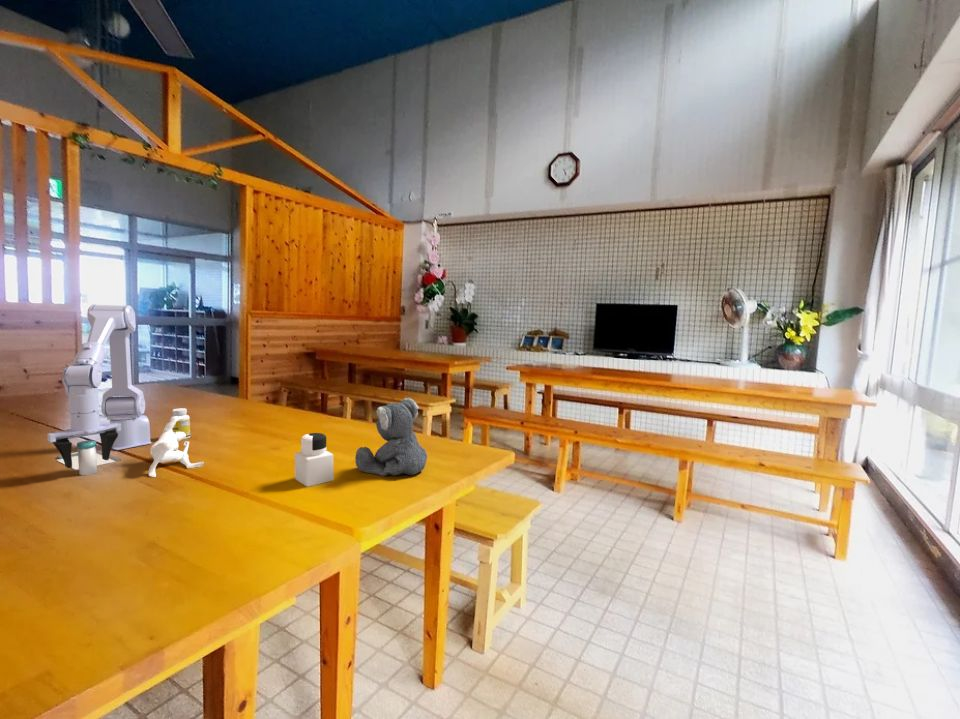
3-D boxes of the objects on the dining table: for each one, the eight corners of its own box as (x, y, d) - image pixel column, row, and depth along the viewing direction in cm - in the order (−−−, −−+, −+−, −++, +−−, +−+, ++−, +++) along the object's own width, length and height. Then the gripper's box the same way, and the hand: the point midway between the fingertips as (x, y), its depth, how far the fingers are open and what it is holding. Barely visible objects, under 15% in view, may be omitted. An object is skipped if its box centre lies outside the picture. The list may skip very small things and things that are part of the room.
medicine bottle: (321, 473, 124) (320, 429, 123) (333, 480, 119) (333, 435, 118) (294, 479, 119) (294, 434, 118) (306, 487, 114) (306, 439, 113)
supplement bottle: (167, 438, 152) (166, 409, 152) (184, 435, 157) (183, 407, 156) (177, 441, 150) (175, 411, 149) (193, 437, 155) (192, 408, 154)
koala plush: (393, 455, 141) (393, 392, 139) (440, 466, 132) (442, 399, 130) (350, 471, 126) (350, 400, 124) (400, 485, 117) (401, 409, 115)
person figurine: (198, 431, 123) (180, 409, 135) (141, 450, 114) (127, 424, 126) (209, 472, 128) (190, 447, 140) (155, 493, 119) (140, 464, 131)
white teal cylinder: (94, 469, 122) (92, 439, 122) (100, 472, 120) (98, 441, 120) (76, 473, 119) (74, 442, 118) (82, 476, 117) (80, 445, 116)
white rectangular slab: (99, 451, 137) (99, 450, 137) (120, 460, 130) (120, 459, 130) (56, 460, 129) (56, 458, 129) (75, 470, 122) (75, 468, 122)
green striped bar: (92, 451, 138) (92, 448, 138) (95, 452, 137) (94, 449, 137) (57, 457, 131) (57, 455, 131) (60, 459, 130) (59, 456, 130)
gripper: (53, 418, 110) (57, 474, 111) (125, 409, 122) (127, 458, 124) (42, 414, 114) (46, 468, 115) (113, 405, 126) (116, 454, 127)
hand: (87, 463), depth 120 cm, fingers open, 7 cm apart
